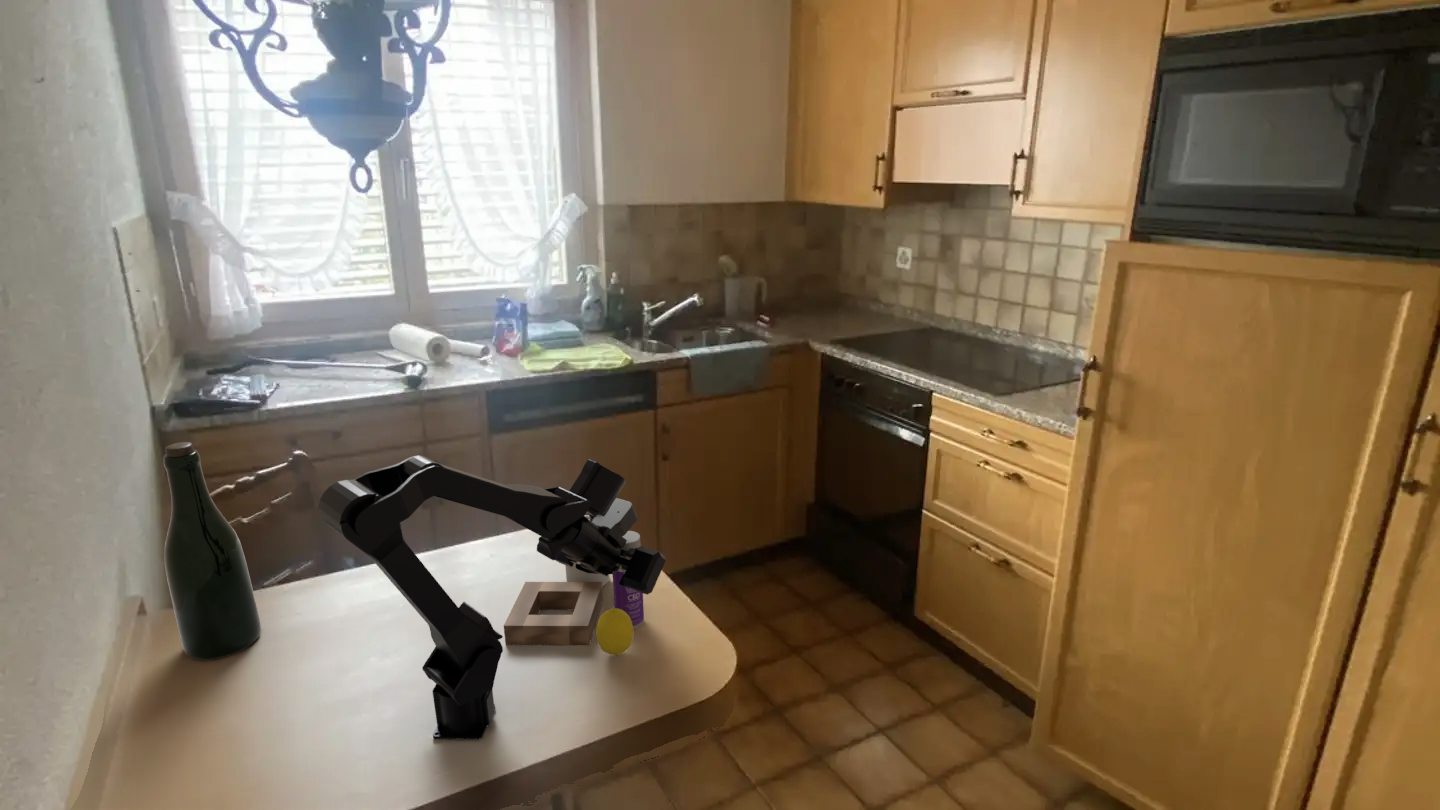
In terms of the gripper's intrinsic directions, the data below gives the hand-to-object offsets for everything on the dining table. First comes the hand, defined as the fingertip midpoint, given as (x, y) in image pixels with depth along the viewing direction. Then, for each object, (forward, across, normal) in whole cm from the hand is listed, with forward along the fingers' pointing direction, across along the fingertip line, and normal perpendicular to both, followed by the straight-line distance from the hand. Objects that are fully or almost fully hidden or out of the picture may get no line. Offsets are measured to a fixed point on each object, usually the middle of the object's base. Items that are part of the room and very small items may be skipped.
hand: (633, 575), depth 126 cm
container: (+4, 0, +6) cm, 8 cm away
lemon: (-1, -4, +12) cm, 13 cm away
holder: (0, +10, +11) cm, 15 cm away
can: (+9, +14, +3) cm, 17 cm away
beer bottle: (-22, +50, +34) cm, 65 cm away
